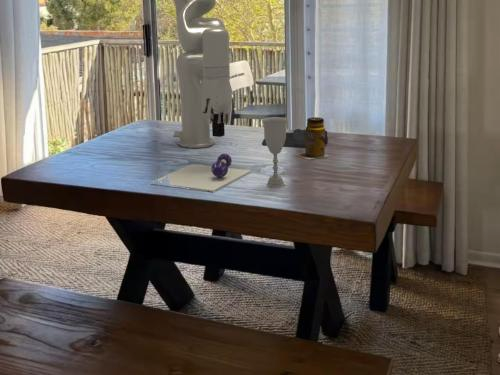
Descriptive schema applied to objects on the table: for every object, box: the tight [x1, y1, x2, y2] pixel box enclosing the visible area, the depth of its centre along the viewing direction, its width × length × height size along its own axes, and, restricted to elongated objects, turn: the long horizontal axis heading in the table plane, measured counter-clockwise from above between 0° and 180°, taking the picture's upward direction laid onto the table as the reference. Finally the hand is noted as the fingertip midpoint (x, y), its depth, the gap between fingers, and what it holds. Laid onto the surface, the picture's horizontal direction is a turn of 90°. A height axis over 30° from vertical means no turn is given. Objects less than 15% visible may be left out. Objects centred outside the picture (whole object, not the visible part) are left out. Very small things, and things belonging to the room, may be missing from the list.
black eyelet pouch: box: [261, 128, 329, 149], centre depth 232 cm, size 15×22×5 cm
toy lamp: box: [211, 153, 232, 177], centre depth 193 cm, size 5×5×17 cm
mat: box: [153, 163, 252, 193], centre depth 190 cm, size 20×22×1 cm
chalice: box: [261, 116, 289, 189], centre depth 180 cm, size 7×7×18 cm
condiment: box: [296, 116, 331, 160], centre depth 212 cm, size 7×8×12 cm
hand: (218, 136), depth 196 cm, fingers closed
